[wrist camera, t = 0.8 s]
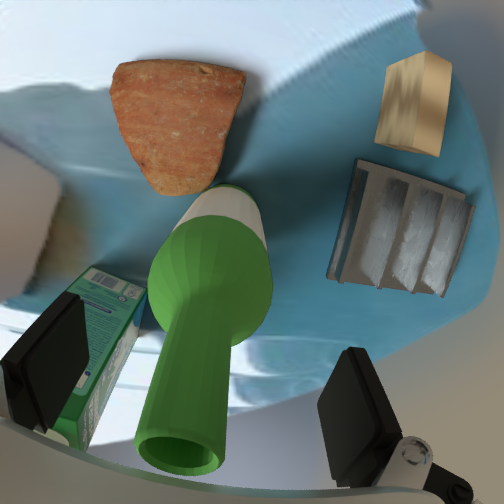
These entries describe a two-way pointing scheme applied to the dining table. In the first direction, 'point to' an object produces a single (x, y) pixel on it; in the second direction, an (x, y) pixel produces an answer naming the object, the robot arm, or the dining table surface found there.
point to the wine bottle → (202, 327)
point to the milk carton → (99, 352)
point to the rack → (399, 231)
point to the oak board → (415, 104)
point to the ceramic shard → (176, 119)
